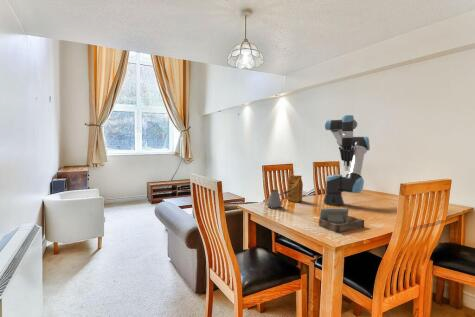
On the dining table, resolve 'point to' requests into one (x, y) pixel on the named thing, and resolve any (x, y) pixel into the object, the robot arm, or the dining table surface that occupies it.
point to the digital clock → (334, 215)
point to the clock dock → (350, 225)
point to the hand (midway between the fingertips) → (346, 170)
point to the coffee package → (295, 188)
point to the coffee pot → (275, 199)
